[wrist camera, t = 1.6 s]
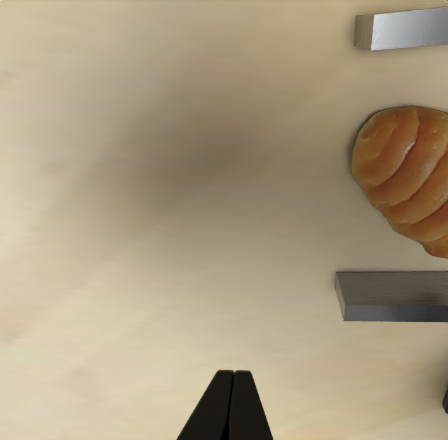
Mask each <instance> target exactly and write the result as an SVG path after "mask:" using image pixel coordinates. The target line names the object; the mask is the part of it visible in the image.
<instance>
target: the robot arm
mask: <svg viewBox="0 0 448 440" xmlns="http://www.w3.org/2000/svg"><path fill="white" fill-rule="evenodd" d="M443 408H444V410H445V412H446V413H447V414H448V392H447V395H446V398H445V400H444V403H443ZM176 440H273V437H272V434H271V431H270V428H269V425H268V422H267V419H266V415H265V412H264V409H263V406H262V403H261V400H260V397H259V394H258V391H257V388H256V385H255V382H254V379H253V376H252V373H251V372H250V371H247V370H237V371H235V372H234V371H233V370H218V371H217V372H216V374H215V376H214V377H213V379H212V381H211V382H210V384H209V386H208V387H207V389H206V391H205V392H204V394H203V396H202V397H201V399H200V401H199V402H198V404H197V406H196V407H195V409H194V411H193V413H192V414H191V416H190V418H189V419H188V421H187V423H186V424H185V426H184V428H183V429H182V431H181V433H180V434H179V436H178V438H177V439H176Z"/></svg>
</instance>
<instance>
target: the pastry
mask: <svg viewBox="0 0 448 440" xmlns="http://www.w3.org/2000/svg"><path fill="white" fill-rule="evenodd" d="M352 176H353V177H354V179H355V180H356V181H357V182H358V184H359V185H360V186H361V187H362V188H363V189H364V190H365V192H366V194H367V196H368V198H369V200H370V202H371V204H372V205H373V206H374V207H376V208H377V209H378V210H379V211H381V212H382V213H383V215H384V216H385V217H386V218H387V219H388V221H389V224H390V226H391V227H392V228H393V230H394V231H396V232H398V233H399V234H402V235H404V236H406V237H409V238H411V239H413V240H416V241H418V242H419V243H421V244H422V245H423V246H424V249H425V251H426V252H427V253H428V254H430V255H432V256H435V257H441V258H447V259H448V113H445V112H442V111H440V110H434V109H429V108H424V107H417V106H411V107H401V108H389V109H385V110H382V111H380V112H378V113H376V114H374V115H373V116H372V117H371V118H370V119H369V121H368V122H367V123H366V124H365V125H364V126H363V127H362V129H361V130H360V132H359V134H358V136H357V139H356V142H355V146H354V148H353V150H352Z"/></svg>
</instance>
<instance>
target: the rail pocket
mask: <svg viewBox="0 0 448 440" xmlns="http://www.w3.org/2000/svg"><path fill="white" fill-rule="evenodd" d="M441 44H448V7H439V8H429V9H420V10H410V11H400V12H390V13H380V14H370V15H360V16H357V17H356V30H355V42H354V46H356V47H360V48H363V49H367V50H371V51H372V50H384V49H395V48H407V47H418V46H429V45H441ZM335 289H336V293H337V297H338V301H339V305H340V309H341V313H342V317H343V321H392V322H448V272H336V279H335Z"/></svg>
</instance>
